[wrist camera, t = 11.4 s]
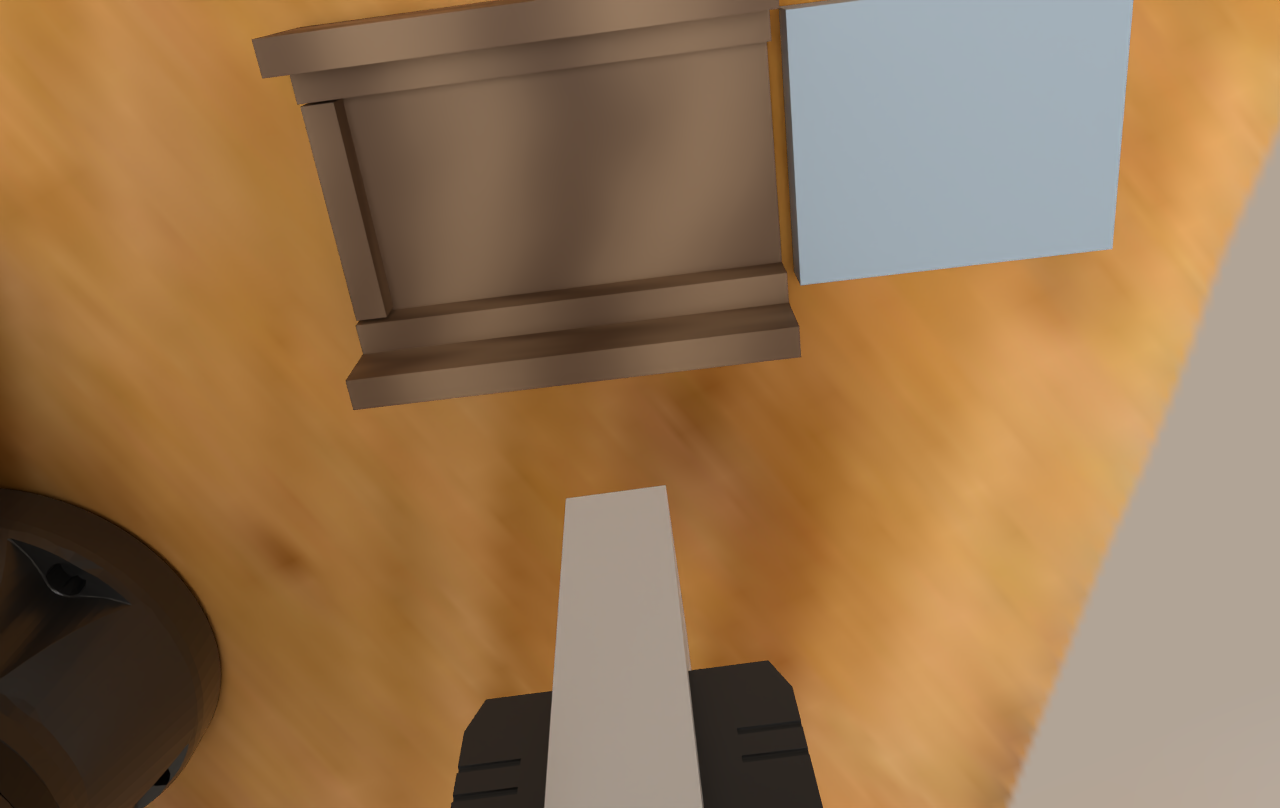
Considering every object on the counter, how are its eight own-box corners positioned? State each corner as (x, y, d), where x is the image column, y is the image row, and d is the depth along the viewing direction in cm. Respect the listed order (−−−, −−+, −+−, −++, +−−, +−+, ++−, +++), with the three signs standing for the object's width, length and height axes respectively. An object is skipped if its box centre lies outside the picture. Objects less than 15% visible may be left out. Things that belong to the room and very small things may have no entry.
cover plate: (791, 266, 34) (800, 285, 32) (776, 5, 30) (785, 9, 29) (1086, 232, 34) (1112, 248, 32) (1105, -37, 30) (1136, -36, 28)
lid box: (384, 359, 35) (353, 410, 31) (299, 27, 30) (251, 39, 26) (782, 310, 34) (800, 356, 30) (758, -36, 30) (776, -33, 26)
